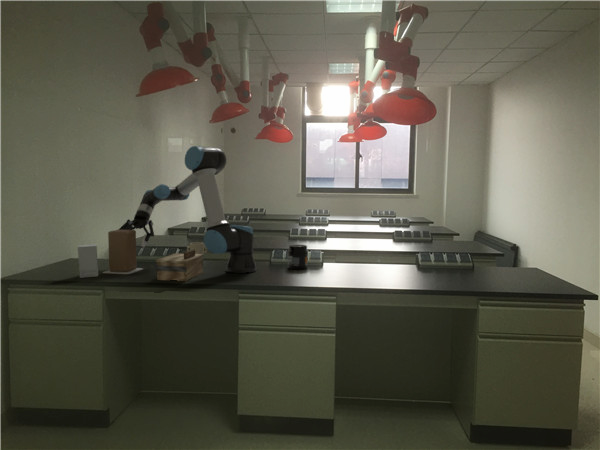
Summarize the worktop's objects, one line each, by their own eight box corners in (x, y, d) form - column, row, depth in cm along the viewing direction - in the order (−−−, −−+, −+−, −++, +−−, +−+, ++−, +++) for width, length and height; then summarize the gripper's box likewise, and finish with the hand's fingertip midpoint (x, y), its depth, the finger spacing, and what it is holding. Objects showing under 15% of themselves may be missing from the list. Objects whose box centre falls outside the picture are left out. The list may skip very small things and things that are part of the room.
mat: (143, 269, 235) (143, 268, 235) (129, 274, 221) (129, 273, 221) (118, 268, 237) (118, 267, 237) (102, 273, 223) (102, 272, 223)
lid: (203, 256, 226) (203, 248, 226) (186, 263, 206) (186, 254, 206) (175, 255, 229) (175, 247, 228) (155, 262, 208) (155, 253, 208)
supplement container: (309, 266, 246) (309, 244, 245) (305, 270, 236) (305, 247, 235) (290, 265, 249) (290, 244, 248) (285, 269, 239) (285, 246, 238)
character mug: (209, 266, 244) (209, 242, 243) (205, 269, 237) (205, 244, 236) (189, 266, 245) (189, 242, 244) (184, 268, 238) (184, 243, 237)
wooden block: (137, 268, 234) (136, 229, 232) (127, 272, 224) (126, 231, 222) (118, 268, 235) (118, 229, 233) (108, 271, 225) (107, 231, 223)
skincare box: (98, 274, 220) (97, 243, 219) (98, 276, 215) (97, 245, 214) (78, 275, 217) (77, 244, 215) (78, 278, 211) (77, 246, 210)
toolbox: (202, 272, 227) (202, 256, 226) (186, 281, 207) (186, 263, 206) (175, 271, 229) (175, 255, 229) (156, 280, 209) (156, 262, 208)
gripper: (167, 219, 250) (155, 250, 236) (124, 218, 253) (110, 249, 240) (162, 210, 244) (150, 241, 230) (119, 209, 247) (104, 240, 234)
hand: (130, 245), depth 235 cm, fingers open, 13 cm apart
